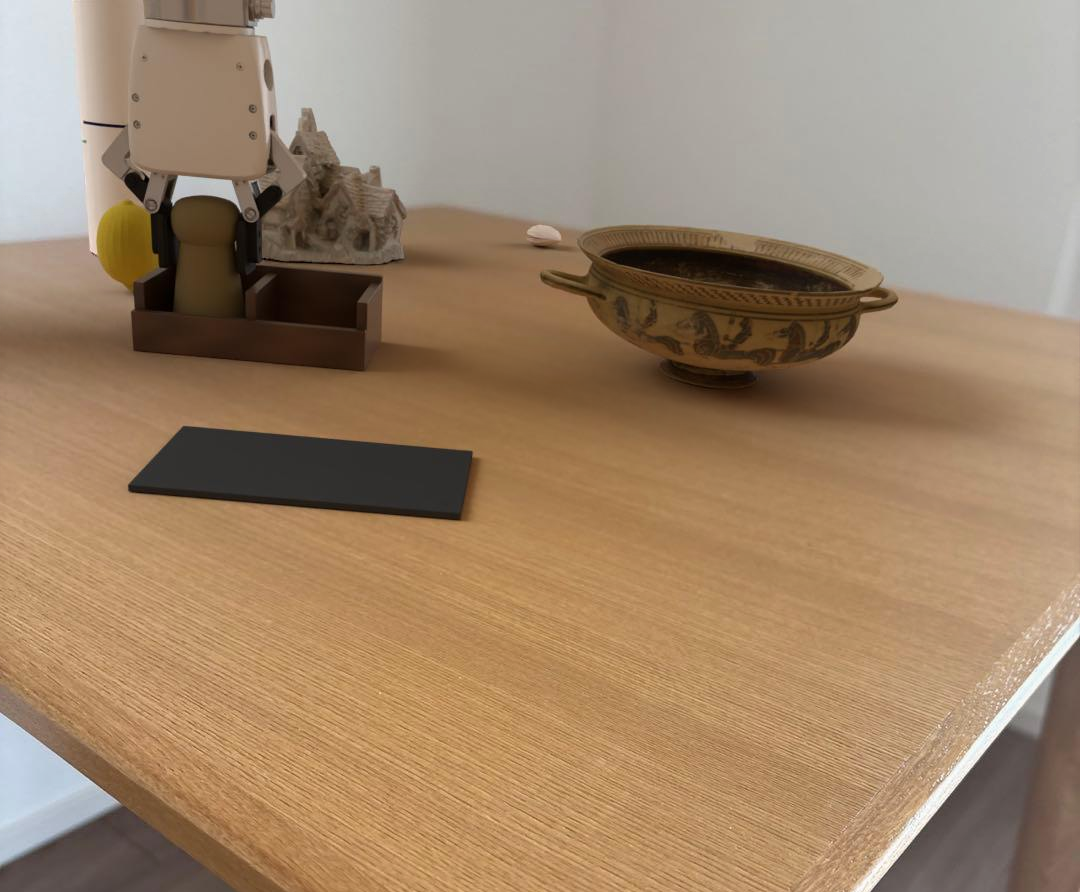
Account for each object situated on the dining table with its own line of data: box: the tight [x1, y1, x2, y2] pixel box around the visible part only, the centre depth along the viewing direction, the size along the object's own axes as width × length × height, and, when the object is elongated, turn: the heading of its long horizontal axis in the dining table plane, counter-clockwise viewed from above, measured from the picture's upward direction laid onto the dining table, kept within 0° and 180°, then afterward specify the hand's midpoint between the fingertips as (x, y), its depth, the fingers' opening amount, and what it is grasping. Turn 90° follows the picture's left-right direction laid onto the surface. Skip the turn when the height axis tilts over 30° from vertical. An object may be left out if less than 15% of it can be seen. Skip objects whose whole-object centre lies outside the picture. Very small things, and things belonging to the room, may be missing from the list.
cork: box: [170, 194, 246, 319], centre depth 87 cm, size 6×6×11 cm
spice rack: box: [130, 262, 384, 372], centre depth 88 cm, size 17×9×6 cm, turn 89°
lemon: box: [96, 199, 159, 292], centre depth 100 cm, size 6×6×8 cm
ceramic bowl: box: [539, 224, 899, 390], centre depth 91 cm, size 30×24×10 cm
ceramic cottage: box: [235, 107, 408, 265], centre depth 122 cm, size 16×16×15 cm
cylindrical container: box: [71, 0, 151, 254], centre depth 111 cm, size 7×7×25 cm
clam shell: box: [526, 224, 562, 247], centre depth 140 cm, size 4×5×2 cm
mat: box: [127, 425, 474, 520], centre depth 66 cm, size 18×10×1 cm, turn 89°
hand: (208, 266), depth 87 cm, fingers closed on cork, 5 cm apart
